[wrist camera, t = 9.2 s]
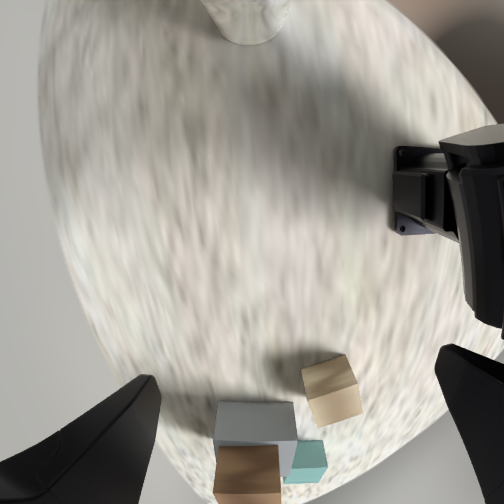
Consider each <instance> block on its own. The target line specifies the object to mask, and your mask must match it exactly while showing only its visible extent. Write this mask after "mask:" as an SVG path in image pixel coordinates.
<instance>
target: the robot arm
mask: <svg viewBox="0 0 504 504" xmlns="http://www.w3.org/2000/svg"><path fill="white" fill-rule="evenodd" d="M438 142H439V145H440V148H441V149H433V148H423V147H411V146H397V147H395V149H394V174H393V208H394V210H395V231H396V233H398V234H399V235H418V234H434V233H438V234H440V235H442V236H444V237H447V238H449V239H451V240H453V241H455V242H458V243H459V244H460V252H461V261H462V271H463V285H464V294H465V299H466V302H467V303H468V304H469V306H470V307H471V308H472V310H473V311H474V312H475V318H477V319H478V320H480V321H481V322H483V323H485V324H487V325H490V326H493V327H496V328H501V329H502V333H501V338H502V339H503V340H504V124H497V125H489V126H484V127H481V128H478V129H474V130H471V131H468V132H465V133H462V134H458V135H455V136H452V137H449V138H446V139H443V140H440V141H438ZM399 150H401V151H402V155H401V156H400V155H399ZM402 225H403V230H402V231H400V227H401V226H402ZM435 374H436V376H437V379H438V381H439V384H440V387H441V390H442V392H443V395H444V398H445V401H446V403H447V406H448V409H449V411H450V413H451V415H452V417H453V420H454V422H455V424H456V426H457V428H458V431H459V433H460V435H461V438H462V440H463V442H464V445H465V447H466V450H467V452H468V454H469V457H470V460H471V462H472V465H473V468H474V470H475V473H476V476H477V478H478V481H479V484H480V487H481V490H482V494H483V497H484V499H485V504H504V364H502V363H500V362H497V361H495V360H492V359H490V358H487V357H485V356H482V355H480V354H477V353H475V352H472V351H470V350H467V349H465V348H462V347H460V346H457V345H455V344H447V345H444V346H442V347H441V348H440V350H439V354H438V357H437V360H436V363H435ZM160 406H161V393H160V390H159V388H158V385H157V382H156V379H155V377H154V376H153V375H146V374H141V375H139V376H137V377H136V378H134V379H133V380H132V381H130V382H129V383H127V384H126V385H125V386H123V387H122V388H120V389H119V390H118V391H116V392H115V393H113V394H112V395H110V396H109V397H107V398H106V399H105V400H103V401H102V402H100V403H99V404H97V405H96V406H95V407H93V408H91V409H90V410H89V411H87V412H86V413H84V414H83V415H81V416H80V417H78V418H77V419H75V420H74V421H72V422H71V423H69V424H68V425H66V426H65V427H63V428H62V429H61V430H60V431H57V432H55V433H54V434H52V435H51V436H49V437H48V438H46V439H44V440H43V441H41V442H39V443H38V444H36V445H34V446H32V447H30V448H28V449H26V450H24V451H22V452H20V453H18V454H16V455H14V456H12V457H10V458H7V459H6V460H3V461H1V462H0V504H138V503H139V499H140V495H141V491H142V487H143V483H144V479H145V476H146V472H147V468H148V464H149V461H150V457H151V453H152V449H153V446H154V442H155V437H156V431H157V425H158V418H159V412H160Z"/></svg>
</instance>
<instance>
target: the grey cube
mask: <svg viewBox="0 0 504 504" xmlns="http://www.w3.org/2000/svg"><path fill="white" fill-rule="evenodd" d="M297 442H298V437H297V429H296V421H295V414H294V406H293V402H278V403H256V402H226V401H219V402H218V408H217V415H216V421H215V427H214V434H213V445H214V451H215V457H216V463H217V456H218V448H219V446H266V445H278V448H279V466H280V476H289V475H290V471H291V468H292V463H293V459H294V455H295V451H296V447H297Z"/></svg>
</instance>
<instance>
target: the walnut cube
mask: <svg viewBox="0 0 504 504" xmlns="http://www.w3.org/2000/svg"><path fill="white" fill-rule="evenodd" d="M213 494H214V496H215V498H216V500H217V502H218V504H281V484H280V466H279V448H278V445H266V446H219V448H218V456H217V464H216V472H215V480H214V487H213Z"/></svg>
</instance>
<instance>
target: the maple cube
mask: <svg viewBox="0 0 504 504" xmlns="http://www.w3.org/2000/svg"><path fill="white" fill-rule="evenodd" d="M301 372H302V377H303V382H304V387H305V392H306V397H307V401H308V404H309V407H310V409H311V412H312V414H313V417H314V419H315V422H316V424H317V427H318V428H320V427H323V426H326V425H330V424H333V423H336V422H339V421H342V420H345V419H348V418H351V417H354V416H356V415H359V414H362V413H363V409H362V404H361V398H360V393H359V388H358V383H357V381H356V378H355V376H354V374H353V371H352V369H351V367H350V364H349V362H348V360H347V357H346V355H342V356H339V357H337V358H334V359H331V360H328V361H325V362H322V363H319V364H316V365H313V366H310V367H307V368H303V369H301Z"/></svg>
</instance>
